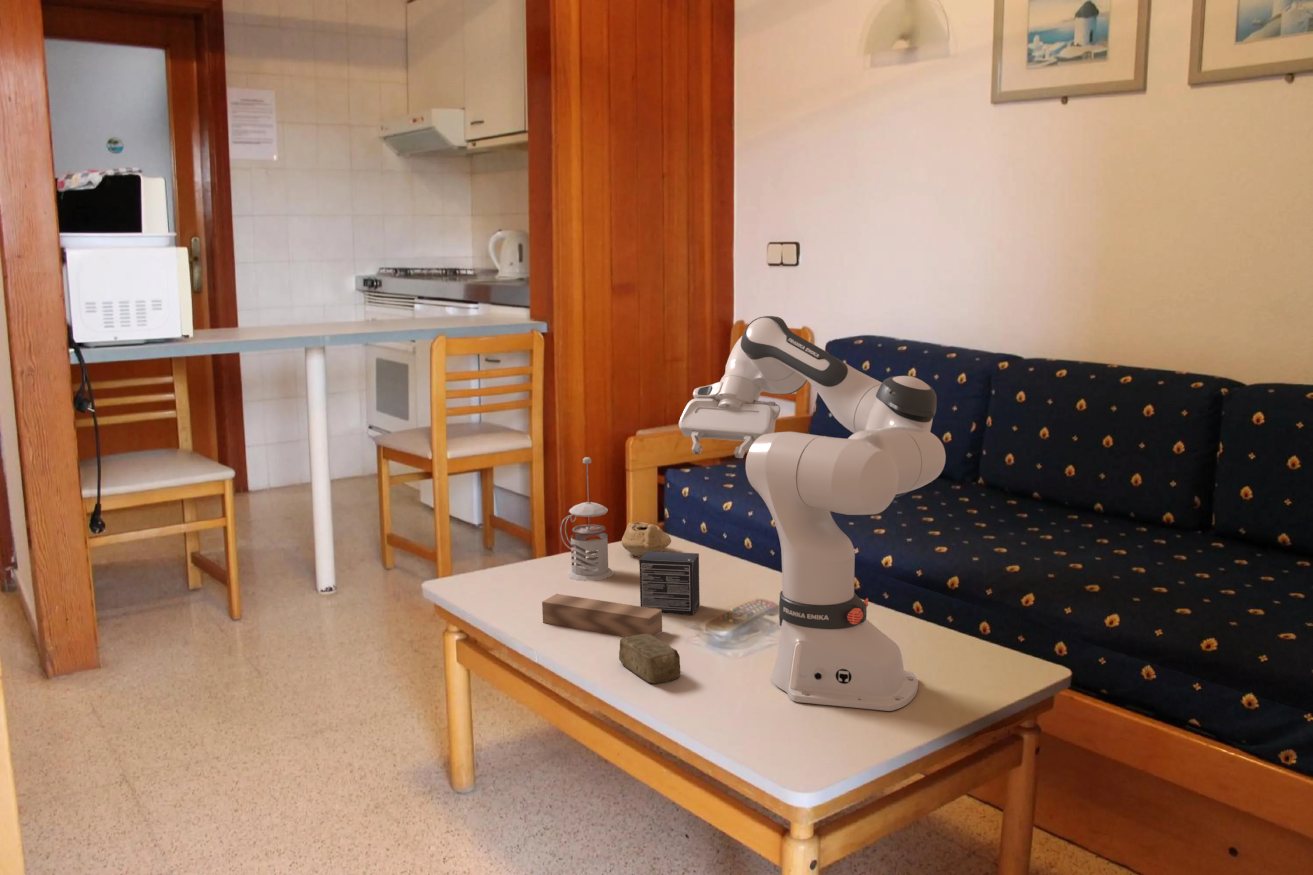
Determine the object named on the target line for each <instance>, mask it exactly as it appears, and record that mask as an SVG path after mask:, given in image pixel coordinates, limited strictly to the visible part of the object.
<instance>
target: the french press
mask: <svg viewBox="0 0 1313 875" xmlns="http://www.w3.org/2000/svg"><path fill="white" fill-rule="evenodd" d="M582 464H586V485H587V488H586V489H587V501H585V502H581V503H578V504H575V505H573V506H572V507H570V509H569V510H568V513H570V515H569V514H568V515H567V516H565V518H563V519H562V521H561V524H560V527H559V531H560V536H561V540H562V543H563V544H564V545H565V546H566V547H567V548H568V549H569V550H571V551H570V553H571V568H570V569H569V571H568V572H567V573H568V574H567V577H568V576H569V577H568V578H570V579H572V580H576V581H583V580H589V581H590V580H594V581H601V580H605V579H607V577H608V578H610V577H612V576H613V575H614V570H612V569H611V568H610V567H609V547H608V546H609V542H608V541H609V540H608V534H607V533H606V530H607V528H606V526H604V525H602V524H601V525H600V524H590V518H594V517H600V516H603V515H606V514H607V513H608V511H609V509H608V508H607V507H606V506H604V505H602V504H599V503H597V502H592V501H591V502H590V496H589V464H592V458H590V457H589V456H586V457H584V458H582ZM572 516H574V519H573V517H572ZM577 517H583V518H587V517H588V518H587V521H588V524H580V525H576V526H574V527H573V528H572V529H571V532H572V533H574V534H572V535H570V539H569V538H568V537H569V536H568V534H567V533H568V532H567V523H568V520H569V519H570V522H571V523H574V522H575V521H576V520H577ZM565 520H566V521H565ZM564 521H565V523H564ZM563 524H564V533H565V536H566V539H567V542H568V543H569V544H570V546H569V545H568V544H567V543H566V542H565V541H564V537H563V532H562V527H563ZM591 537H598V538H600V539H597V538H593V539H588V538H591ZM586 539H588V540H586ZM589 581H588V582H589ZM590 582H591V581H590Z"/></svg>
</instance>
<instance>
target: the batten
mask: <svg viewBox="0 0 1313 875" xmlns="http://www.w3.org/2000/svg"><path fill="white" fill-rule="evenodd" d="M541 603H542V604H541V605H542V606H541V607H542V609H541V610H542V623H543V624H549V625H555V626H561V627H568V628H573V629H578V630H585V631H592V632H597V633H604V634H608V635H609V634H610V635H616V636H622V637H629V636H634V635H640V634H651V635H652V636H654V637H656V636H658V635H659V634H661V633H662V632H663V613H662V610H660V609H654V608H647V607H641V605H640V606H639V605H635V604H634V605H633V604H626V603H622V602H621V603H619V602H613V601H606V600H600V599H593V598H588V597H587V598H586V597H580V596H573V595H567V594H561V593H560V594H559V593H556V594H554V595H552V596H550V597H548V598H546V599H545V600H542V602H541Z"/></svg>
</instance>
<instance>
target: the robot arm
mask: <svg viewBox="0 0 1313 875" xmlns="http://www.w3.org/2000/svg"><path fill="white" fill-rule="evenodd" d="M807 381H808V383H809V384H811V386H812V387H813V388H814V390H816V392H817V393H818V395H819V396H820V398H821V399H822V401H823V402H824V405H826V407H827V409H828V410H829V411H830V413H831V414H832V416H833V417H834V419H836V420H837V422H839V424H841V425H842V426H843V427H844V428H845V429H847V430H849V431H850V433H852V434H851V435H850V436H849V437H848V438H841V437H833V436H825V435H817V434H811V433H805V432H804V433H803V432H797V431H780V432H779V431H777V432H775V429H776V420H777V419H778V418H779V416H780V413H781V407H780V405H779V404H777V403H776V402H775V401H766V400H764V401H763V400H759V398H760V395H761V394H762V392H763V393H765V394H770V395H780V396H781V395H786V396H787V395H791V394H795V393H797V392H798V391H800V390H801V389H802V388H803V387H804V386H805V384H806V383H807ZM692 396H693V398H692V399H691V400H689V401H688V402H687V404H686V405H685V407H684V409H683V412H682V413H681V416H680V419H679V420H678V427H679V429H680V431H681V433H682V435H683V436H684V437H686V438H691V440H692V447H691V452H692V454H693V455H701V454H702V451H703V446H702V444H701V443H699V442H701V441H702V439H708V440H709V439H711V440H722V441H733V442H734V441H735V442H743V443H741V444H740V445H739V446H735V448H734V449H735V450H734V451H733V456H734V457H735V458H737V459H743V458H744V456H745V453H746V452H747V453H746V454H747V455H746V457H745V458H746V459H745V473H746V477H747V480H748V482H749V484H750V486H751V487H752V488H753V489H754V490H755V492H757V493H758V495H759V496H760V497H761V498H762V500H763V501H764V503H765V505H766V507H767V508H768V510H769V512H770V515H771V517H772V520H773V522H774V525H775V528H776V531H777V535H778V538H779V539H778V540H779V543H780V549H781V552H780V554H781V572H782V573H781V575H782V576H781V578H782V579H781V580H782V587H781V588H782V590H781V591H780V592H779V599H778V600H779V601H778V618H779V620H778V621H779V626H780V636H779V644H778V650H777V655H776V659H775V664H774V667H773V670H772V673H771V681H772V682H773V684H774V685H775V686H776V687H778V688H779V689H780V690H782V691H784V692H786V693H787V694H788V697H789V698H790V700H792V701H793V702H796V703H805V704H814V705H822V706H823V705H825V706H833V707H836V706H837V707H845V708H855V709H865V710H875V711H885V712H886V711H887V712H890V711H891V712H892V711H895V710H898V709H901V708H903V707H905V706H907V705H908V704H909V703H910V702H912V701H913V700H914V698H915V696H916V695H917V692H918V690H919V680H918V677H917V675H916V674H915V673H914V672H912V671H909V670H905V669H904V663H903V656H902V652H901V649H900V647H899V646H898V645H899V644H897V643H896V642H895V641H894V640H893V639H891V638H890V637H889V636H888V635H886V634H885V633H884V632H882V631H881V630H880V629H879V628H878V627H877V626H876V625H874V624H873V623H871V622H870V621H869V620H868V619H867V614H868V613H867V612H868V611H867V608H868V606H869V598H868V597H867V598H865V599H864V600H862V599H861V598H860V596H858V595H857V594H856V593H855V566H856V565H855V561H856V560H855V559H856V555H855V554H856V552H855V548H854V545H853V543H852V542H853V541H851V540H850V538H849V537H848V536H847V534H845V533H844V532H843V531H842V530H841V528H840V527H839V526H838V525H837V524H836V522H835V520H834V518H833V516H832V514H831V512H832V513H833V512H834V513H837V514H843V515H846V516H847V515H849V516H850V515H851V516H855V515H857V516H862V515H863V516H865V515H866V516H867V515H877V514H878V515H879V514H880V513H883V512H884V511H885V510H886V509H887V508H889V506H890V504H891V503H892V502H893V501H894V499H895V498H899V497H902V496H905V495H906V494H907V493H909V492H911V491H914V490H917V489H920V488H922V487H924V486H926V485H928V484H929V483H932V481H934V480H936V479H937V478H938V477H939V476H940V475H941V474H942V472H943V470H944V468H945V464H946V458H947V455H946V450H945V446H944V444H943V442H942V441H941V440H940V438H939V437H938V436H937V435H935V434H934V433H932V432H931V430H932V425H933V419H934V417H935V415H936V413H937V393H936V392H935V389H933V387H932V386H931V385H930V384H927V383H926V382H925V381H924V380H921V379H919V378H918V377H914V376H911V375H892V376H890V377H888V378H886V379H884V380H883V381H882V382H881V381H879V380H878V379H875V378H873V377H871V376H870V375H867V374H866V373H863V372H861V371H859V370H858V369H856V368H854V367H852V366H851V365H849V364H848V363H846V362H844V361H842V360H840V359H839V358H837V357H835V356H834V355H832V354H831V353H829V352H827V351H825V349H823V348H821V347H819V346H818V345H816V344H813V343H812V342H810V341H809V340H806V339H804V338H803V337H801V336H799V335H797V334H795V333H794V332H793V331H792V330H791V329H790V328H789V327H788V325H787V323H786V321H785V320H784V319H782V317H779V316H775V315H767V316H766V315H765V316H764V315H763V316H760V317H757V318H755V319H753V320H752V321H750V322H749V324H747V326H746V328H745V329H744V331H743V332H742V335H741V336H740V337H739V338H738V340H737V341H736V343H734V346H733V347H732V350H731V352H730V354H729V355H728V358H727V362H726V364H725V372H724V375H723V376H722V377H721V379H720V381H718V382H715V383H712V384H708V385H705V386H699V387H696V388H694V390H693V392H692Z"/></svg>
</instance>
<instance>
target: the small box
mask: <svg viewBox="0 0 1313 875" xmlns="http://www.w3.org/2000/svg"><path fill="white" fill-rule="evenodd" d="M638 563H639V594H640V596H639V598H640V600H639V601H640V603H639V604H640V606H641V607H647V608H654V609H660V610H662V614H664V615H665V614H667V615H681V616H682V615H685V616H694V615H695V614H696V612H697V610H698V608H700V600H701V599H700V596H701V595H700V553H699V552H697V553H696V552H694V553H693V552H678V551H677V552H672V551H671V552H670V551H661V552H653V551H647V552H645V553H644V555H643V556H642V557H640V558H639V559H638Z"/></svg>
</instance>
